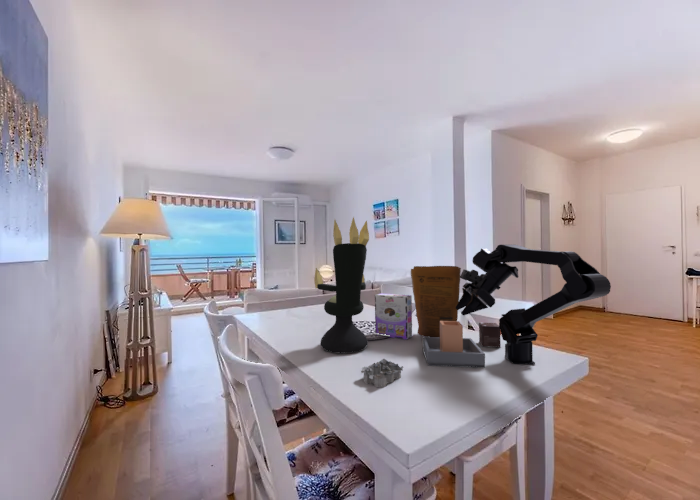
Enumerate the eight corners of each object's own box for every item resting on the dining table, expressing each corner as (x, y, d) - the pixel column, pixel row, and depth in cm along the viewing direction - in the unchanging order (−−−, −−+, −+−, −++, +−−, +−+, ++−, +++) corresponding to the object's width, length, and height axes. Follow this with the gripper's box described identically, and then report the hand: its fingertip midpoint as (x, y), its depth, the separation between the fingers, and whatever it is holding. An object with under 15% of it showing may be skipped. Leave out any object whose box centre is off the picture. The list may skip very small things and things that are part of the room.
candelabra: (361, 337, 122) (360, 222, 122) (385, 355, 101) (384, 216, 101) (313, 342, 116) (312, 221, 116) (328, 362, 95) (327, 214, 95)
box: (500, 348, 108) (500, 326, 108) (482, 347, 109) (482, 326, 109) (496, 342, 114) (496, 322, 114) (478, 342, 115) (478, 322, 115)
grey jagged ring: (380, 390, 77) (380, 373, 77) (358, 381, 82) (358, 365, 82) (406, 377, 84) (405, 362, 84) (384, 370, 89) (384, 355, 89)
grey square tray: (471, 350, 106) (471, 338, 106) (485, 367, 90) (484, 353, 90) (422, 348, 108) (422, 336, 108) (428, 365, 92) (428, 351, 92)
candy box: (412, 336, 123) (412, 294, 123) (407, 340, 118) (406, 296, 118) (381, 332, 130) (380, 292, 130) (374, 335, 125) (374, 294, 125)
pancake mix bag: (459, 343, 114) (458, 266, 114) (410, 335, 125) (409, 265, 125) (463, 338, 119) (463, 265, 119) (416, 331, 130) (416, 264, 130)
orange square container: (458, 352, 101) (458, 321, 101) (462, 358, 96) (462, 325, 96) (439, 351, 102) (439, 320, 102) (442, 357, 96) (442, 325, 96)
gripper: (468, 260, 112) (437, 290, 113) (483, 262, 93) (446, 298, 95) (491, 282, 111) (459, 312, 112) (511, 288, 92) (473, 325, 94)
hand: (459, 311), depth 103 cm, fingers open, 9 cm apart
